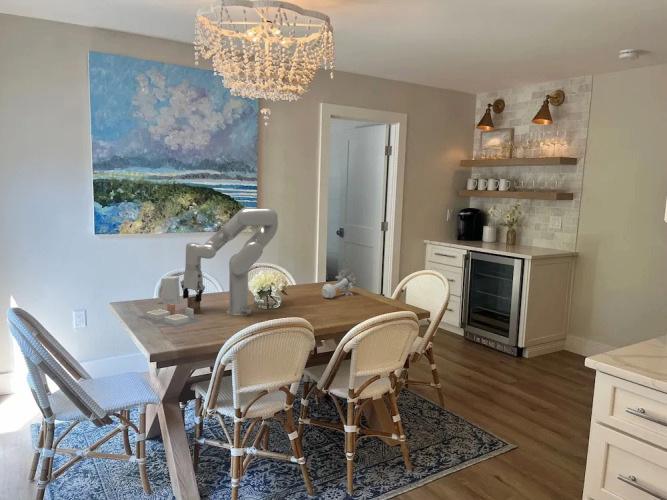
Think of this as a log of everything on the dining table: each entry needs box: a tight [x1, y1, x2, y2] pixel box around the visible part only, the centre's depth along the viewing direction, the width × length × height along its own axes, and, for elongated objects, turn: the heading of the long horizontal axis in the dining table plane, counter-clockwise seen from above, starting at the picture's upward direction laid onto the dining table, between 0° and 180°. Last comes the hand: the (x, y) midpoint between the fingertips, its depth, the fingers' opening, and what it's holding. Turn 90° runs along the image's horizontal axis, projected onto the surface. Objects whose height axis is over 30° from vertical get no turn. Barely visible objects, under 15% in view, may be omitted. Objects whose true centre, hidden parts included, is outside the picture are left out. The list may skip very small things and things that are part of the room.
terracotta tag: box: [166, 303, 176, 315], centre depth 253 cm, size 4×1×5 cm, turn 56°
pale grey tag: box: [185, 307, 195, 320], centre depth 245 cm, size 4×1×5 cm, turn 56°
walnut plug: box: [186, 295, 201, 315], centre depth 256 cm, size 4×4×9 cm
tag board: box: [138, 308, 203, 329], centre depth 244 cm, size 29×16×4 cm, turn 56°
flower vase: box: [321, 267, 357, 299], centre depth 308 cm, size 13×18×25 cm
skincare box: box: [160, 275, 181, 305], centre depth 275 cm, size 8×7×16 cm
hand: (192, 299), depth 256 cm, fingers open, 9 cm apart
